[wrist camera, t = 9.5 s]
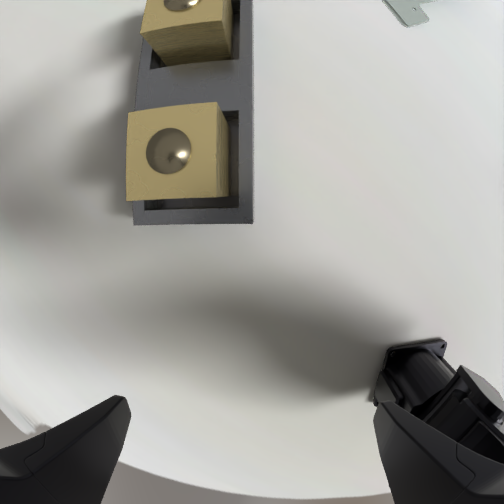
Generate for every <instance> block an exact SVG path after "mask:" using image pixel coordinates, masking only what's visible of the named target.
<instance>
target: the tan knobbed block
mask: <svg viewBox="0 0 504 504" xmlns="http://www.w3.org/2000/svg"><path fill="white" fill-rule="evenodd" d="M140 34H141V35H142V36H143V38H144V39H145V40H146V41H147V42H148V44H149V45H150V46H151V47H152V48H153V50H154V51H155V52H156V53H157V54H158V56H159V57H160V58H161V59H162V61H163V62H164V63H165V64H166V65H167V67H168V66H175V65H182V64H190V63H199V62H209V61H222V60H233V44H234V15H233V10H232V4H231V0H147V3H146V7H145V11H144V16H143V20H142V25H141V30H140Z"/></svg>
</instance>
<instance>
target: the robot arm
mask: <svg viewBox="0 0 504 504" xmlns="http://www.w3.org/2000/svg"><path fill="white" fill-rule="evenodd" d="M442 344H443V345H442ZM441 345H442V346H441ZM446 346H447V342H445V341H444V340H437V341H431V342H425V343H419V344H412V345H405V346H397V347H391V348H389V349H388V350H387V352H386V356H385V360H384V364H383V368H382V370H381V372H380V374H379V377H378V381H377V385H376V388H375V391H374V394H375V396H374V399H373V404H374V406H376V407H377V410H376V413H375V415H374V419H373V423H374V428H375V433H376V438H377V443H378V448H379V453H380V457H381V461H382V464H383V467H384V470H385V473H386V476H387V480H388V483H389V487H390V489H391V493H392V496H393V499H394V503H395V504H504V401H503V399H502V397H501V395H500V393H499V392H498V391H497V390H496V389H495V388H494V387H493V386H492V385H491V384H490V383H488V382H487V381H486V380H485V379H484V378H483V377H481V376H479V375H478V374H476V373H474V372H472V371H471V370H469V369H467V368H466V367H464V366H462V365H460V366H459V368H458V369H457V370H456V371H457V372H456V371H455V370H454V369H453V368H452V367H451V366H450V365H449V364H448V363H447V361H446V360H445V359H444V358H443V356H444V353H445V350H446ZM392 352H394V353H393V354H391V353H392ZM130 419H131V411H130V408H129V405H128V402H127V400H126V398H125V397H123V396H118V395H114V396H112V397H110V398H108V399H107V400H105V401H103V402H101V403H99V404H98V405H96V406H94V407H92V408H90V409H88V410H86V411H85V412H83V413H81V414H79V415H77V416H75V417H73V418H71V419H69V420H67V421H65V422H64V423H62V424H60V425H58V426H56V427H54V428H52V429H50V430H48V431H46V432H43V433H41V434H39V435H37V436H35V437H33V438H30V439H28V440H26V441H23V442H20V443H17V444H14V445H11V446H8V447H5V448H2V449H0V504H101V501H102V499H103V496H104V493H105V491H106V488H107V486H108V483H109V481H110V478H111V476H112V473H113V471H114V468H115V466H116V463H117V461H118V458H119V456H120V453H121V451H122V448H123V445H124V441H125V437H126V434H127V430H128V426H129V423H130Z"/></svg>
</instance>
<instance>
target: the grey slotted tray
mask: <svg viewBox="0 0 504 504" xmlns="http://www.w3.org/2000/svg"><path fill="white" fill-rule="evenodd" d="M231 4H232V10H233V15H234V44H233V60H222V61H209V62H199V63H190V64H182V65H175V66H168V67H167V65H166V64H165V63H164V62H163V61H162V59H161V58H160V57H159V56H158V54H157V53H156V52H155V51H154V50H153V48H152V47H151V46H150V45H149V44H148V42H147V41H146V40H145V39H144V38H143V44H142V51H141V57H140V65H139V72H138V81H137V90H136V101H135V111H141V110H147V109H154V108H161V107H168V106H176V105H185V104H196V103H208V102H217V103H218V105H219V107H220V109H221V111H222V113H223V115H224V117H225V119H226V121H227V123H228V125H229V127H230V129H231V196H225V197H205V198H176V199H155V200H137V201H133V220H134V225H169V224H253V222H254V56H253V0H231Z"/></svg>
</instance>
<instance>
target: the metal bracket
mask: <svg viewBox="0 0 504 504" xmlns="http://www.w3.org/2000/svg"><path fill="white" fill-rule="evenodd" d="M433 1H438V0H383V1H382V2H383V3H384V4H385V5H386V6H387V8H388V9H389V10H390V11H391V12H392V14H393V15H394V16H395V17H396V18H397V20H398V21H399V22H400V23H401V24H402V25H404V26H405V27H407V28H408V27H412V26H415V25H419V24H422V23H426V22H428V21H429V18H428V16H427V15H426V14H425V13H424V11H423V10H422V9H421V8H420V6H419V5H420V4H424V3H429V2H433ZM412 8H414V9H415V10H416V11H414V10H413V9H412Z"/></svg>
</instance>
